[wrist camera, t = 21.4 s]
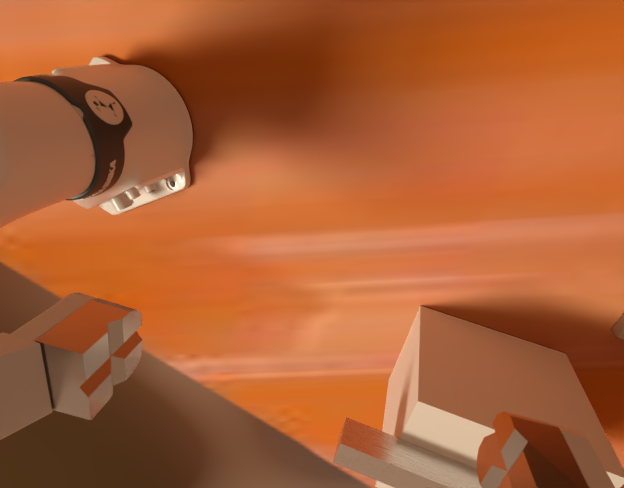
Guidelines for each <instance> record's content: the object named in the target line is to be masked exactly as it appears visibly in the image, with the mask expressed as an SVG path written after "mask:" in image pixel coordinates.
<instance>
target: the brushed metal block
mask: <svg viewBox="0 0 624 488" xmlns="http://www.w3.org/2000/svg"><path fill="white" fill-rule="evenodd" d="M333 462H334V463H336V464H339V465H341V466H343V467H346V468H348V469H351V470H353V471H355V472H358V473H360V474H363V475H365V476H368V477H370V478H372V479H375V480H377V481H380V482H382V483H384V484H387V485H389V486H392V487H394V488H482V487H481V486H480V483H479V479H478V474H477V468H474V467H472V466H469V465H467V464H464V463H461V462H459V461H456V460H454V459H451V458H449V457H446V456H444V455H441V454H439V453H436V452H433V451H431V450H428V449H426V448H423V447H421V446H418V445H416V444H413V443H410V442H408V441H405V440H403V439H400V438H398V437H395V436H393V435H390V434H388V433H385V432H382V431H380V430H377V429H375V428H372V427H370V426H367V425H365V424H362V423H360V422H357V421H354V420H352V419H349V418H347V417H346V420H345V422H344V425H343V428H342V430H341V433H340V436H339V440H338V444H337V448H336V452H335V456H334V460H333Z"/></svg>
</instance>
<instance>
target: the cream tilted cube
mask: <svg viewBox="0 0 624 488" xmlns="http://www.w3.org/2000/svg"><path fill="white" fill-rule="evenodd" d="M502 411H504V412H508V413H512V414H516V415H519V416H523V417H527V418H531V419H534V420H538V421H542V422H545V423H549V424H551V425H558V426H562V427H566V428H569V429H573V430H577V431H580V432H581V433H582V434H583V435H585V436H586V437H587V439H588V441H589V442H590V444H591V446H592V448H593V449H594V451H595V453H596V455H597V456H598V458H599V460H600V462H601V463H602V465H603V467H604V469H605V471H606V472H607V474H608V476H609V478H610V479H611V481H612V483H613V485H614V486H615V488H620V487H621V486H622V485H623V484H624V469H623V467H622V465H621V463H620V461H619V459H618V457H617V455H616V453H615V451H614V449H613V447H612V445H611V443H610V441H609V439H608V437H607V435H606V433H605V431H604V429H603V427H602V425H601V423H600V421H599V419H598V417H597V415H596V413H595V411H594V409H593V407H592V405H591V403H590V401H589V399H588V397H587V395H586V393H585V391H584V389H583V387H582V385H581V383H580V381H579V379H578V377H577V375H576V373H575V371H574V369H573V367H572V365H571V363H570V361H569V359H568V357H567V355H566V354H565V353H562V352H559V351H556V350H553V349H550V348H547V347H544V346H541V345H538V344H535V343H532V342H529V341H526V340H523V339H520V338H517V337H514V336H511V335H508V334H505V333H502V332H499V331H496V330H493V329H490V328H487V327H484V326H481V325H478V324H475V323H472V322H469V321H466V320H463V319H460V318H457V317H454V316H451V315H448V314H445V313H441V312H438V311H435V310H432V309H429V308H426V307H423V306H420V308H419V310H418V313H417V315H416V317H415V320H414V322H413V324H412V327H411V329H410V331H409V334H408V336H407V338H406V341H405V343H404V346H403V348H402V350H401V353H400V355H399V357H398V360H397V362H396V364H395V367H394V369H393V371H392V374H391V376H390V378H389V382H388V390H387V398H386V406H385V414H384V422H383V430H382V432H385V433H388V434H390V435H393V436H395V437H398V438H400V439H403V440H405V441H408V442H410V443H413V444H416V445H418V446H421V447H423V448H426V449H428V450H431V451H433V452H436V453H439V454H441V455H444V456H446V457H449V458H451V459H454V460H456V461H459V462H461V463H464V464H467V465H469V466H472V467H474V468H477V455H478V449H479V446H480V444H481V443H482V441H483V439H484V437H486V436H488V435H490V434H493V433H495V430H494V427H493V421H494V420H495V418H496V416H497V415H498V414H499V413H501V412H502ZM376 487H378V488H394V487H392V486H389V485H387V484H384V483H382V482H380V481H377V480H376Z"/></svg>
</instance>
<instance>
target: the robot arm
mask: <svg viewBox="0 0 624 488" xmlns="http://www.w3.org/2000/svg"><path fill="white" fill-rule="evenodd" d="M192 144H193V131H192V124H191V119H190V116H189V113H188V110H187V108H186V105H185V103H184V101H183V100H182V98H181V96H180V95H179V93H178V92H177V90H176V89H175V88H174V86H173V85H172V84H171V83H170V82H169V81H168V80H167V79H166V78H164V77H163V76H162V75H161V74H159V73H158V72H156V71H154V70H152V69H150V68H148V67H145V66H141V65H123V64H119V63H117V62H115V61H113V60H111V59H109V58H107V57H103V56H99V57H94V58H93V59H92V60H91V62H90V64H89V65H85V66H74V67H63V68H57V69H54V70H53V71H52V75H34V76H29V77H22V78H19V79H17V80H15V81H13V82H0V228H1V227H3V226H5V225H6V224H8V223H10V222H12V221H14V220H16V219H18V218H21V217H23V216H25V215H28V214H30V213H33V212H35V211H38V210H40V209H42V208H45V207H48V206H50V205H53V204H55V203H58V202H61V201H63V200H72V201H74V202H75V203H76V204H78V205H80V206H82V207H84V208H87V209H91V208H94V207H97V206H100V207H101V208H102V209H104V210H105V211H107V212H109V213H110V214H113V215H117V214H121V213H124V212H126V211H129V210H132V209H134V208H137V207H139V206H142V205H145V204H147V203H150V202H152V201H155V200H158V199H160V198H163V197H165V196H168V195H171V194H173V193H176V192H178V191H181V190H184V189H186V188H188V187H189V185H190V170H189V158H190V154H191V150H192ZM173 181H174V182H175V185H174V183H173ZM141 325H142V319H141V313H140V312H139V311H137V310H135V309H132V308H129V307H125V306H122V305H119V304H116V303H112V302H109V301H106V300H102V299H99V298H94V297H91V296H88V295H84V294H81V293H74V294H70V295H68V296H67V297H65V298H64V299H62V300H61V301H59V302H58V303H56V304H55V305H54V306H52V307H50V308H49V309H47V310H46V311H44V312H43V313H42V314H40V315H38V316H37V317H35V318H34V319H32V320H31V321H30V322H28V323H26V324H25V325H23V326H22V327H20V328H19V329H17V330H16V331H14V332H13V333H11V334H6V333H0V440H1V439H3V438H5V437H7V436H9V435H10V434H12V433H14V432H16V431H18V430H20V429H22V428H24V427H25V426H27V425H29V424H31V423H33V422H35V421H37V420H39V419H41V418H43V417H44V416H46V415H48V414H50V413H52V410H55V411H59V412H63V413H66V414H70V415H74V416H77V417H81V418H85V419H89V420H91V419H92V418H93V417H94V416H95V415H96V414H97V412H98V411H99V410H100V409H101V408H102V407H103V406H104V404H105V403H106V402H107V401H108V400H109V399H110V398H111V396H112V395H113V385H116V384H118V383H120V382H122V381H125V380H126V379H127V378H128V377H129V376H130V375H131V373H132V372H133V371H134V369H135V367H136V365H137V363H138V361H139V360H140V357H141V352H142V339H141V337H140V336H139V334H138V333H137V331H136V330H137V329H138V328H139V327H140V326H141ZM493 427H494V430H495V433H493V434H490V435H488V436H486V437H484V439H483V441H482V443H481V444H480V446H479V449H478V455H477V474H478V479H479V483H480V486H481V487H482V488H615V486H614V485H613V483H612V481H611V479H610V478H609V476H608V474H607V472H606V471H605V469H604V467H603V465H602V463H601V462H600V460H599V458H598V456H597V455H596V453H595V451H594V449H593V448H592V446H591V444H590V442H589V441H588V439H587V437H586V436H585V435H583V434H582V433H581V432H580V431H577V430H573V429H569V428H566V427H562V426H558V425H551V424H549V423H545V422H542V421H538V420H534V419H531V418H527V417H523V416H519V415H516V414H512V413H508V412H504V411H502V412H501V413H499V414H498V415H497V416H496V418H495V420H494V421H493Z"/></svg>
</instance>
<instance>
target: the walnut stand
mask: <svg viewBox="0 0 624 488" xmlns="http://www.w3.org/2000/svg"><path fill="white" fill-rule="evenodd" d="M611 330H612V332H613V333H614V334H615V336H616V337H617V338H619V339H623V340H624V313H623V314H622V316H621V317H620V318H619V320H618V321H617V322H616V324H615V325H614V326H613V327H612V329H611Z"/></svg>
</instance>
